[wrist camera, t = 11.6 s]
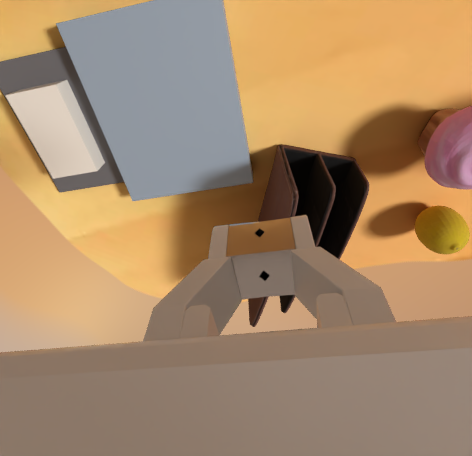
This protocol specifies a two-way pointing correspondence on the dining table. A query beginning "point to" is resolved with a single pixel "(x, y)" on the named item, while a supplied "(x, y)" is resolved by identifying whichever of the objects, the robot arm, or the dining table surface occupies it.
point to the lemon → (442, 229)
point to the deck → (164, 94)
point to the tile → (57, 128)
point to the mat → (62, 68)
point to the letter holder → (313, 201)
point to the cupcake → (449, 147)
